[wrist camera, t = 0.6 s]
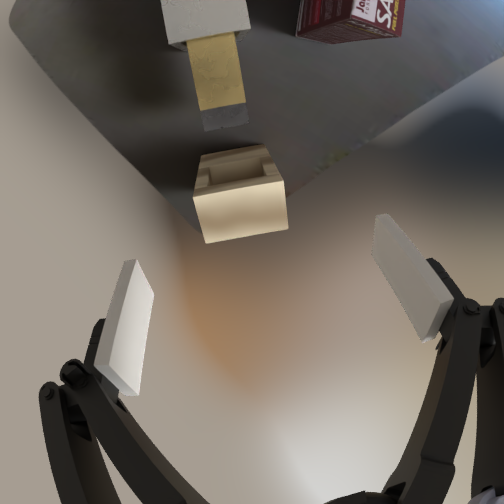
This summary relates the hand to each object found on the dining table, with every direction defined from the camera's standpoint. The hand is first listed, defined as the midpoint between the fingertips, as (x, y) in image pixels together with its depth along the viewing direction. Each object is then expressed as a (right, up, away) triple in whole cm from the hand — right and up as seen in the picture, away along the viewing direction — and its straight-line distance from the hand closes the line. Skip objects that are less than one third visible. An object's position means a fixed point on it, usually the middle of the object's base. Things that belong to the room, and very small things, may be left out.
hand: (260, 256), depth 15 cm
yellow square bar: (-4, +21, +6) cm, 23 cm away
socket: (-2, +11, +21) cm, 24 cm away
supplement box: (+7, +29, +10) cm, 31 cm away
